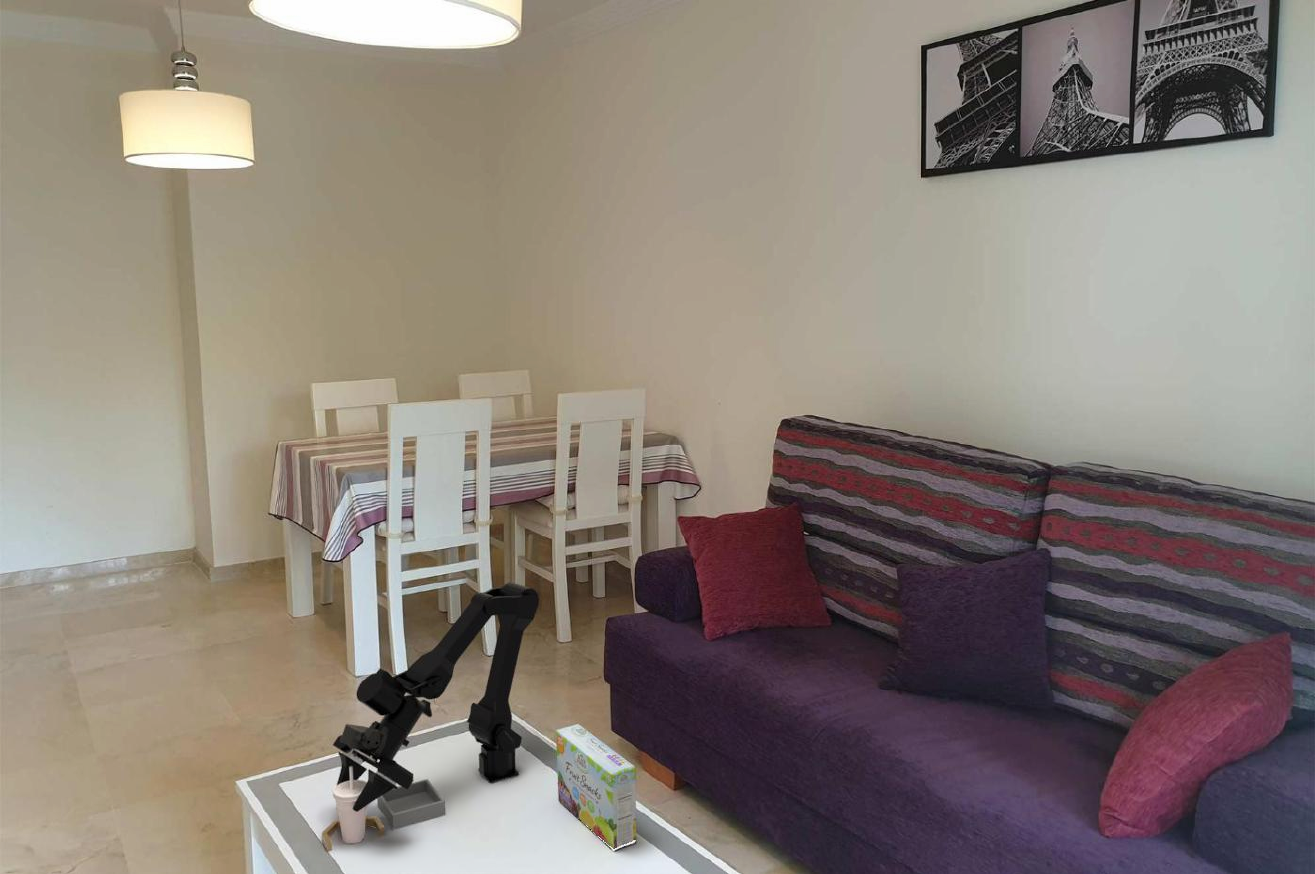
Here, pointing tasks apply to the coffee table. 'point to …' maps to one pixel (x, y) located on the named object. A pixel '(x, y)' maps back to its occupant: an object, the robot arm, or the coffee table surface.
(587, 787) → the snack box
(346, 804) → the smoothie
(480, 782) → the coffee table surface
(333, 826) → the collar
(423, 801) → the tray
